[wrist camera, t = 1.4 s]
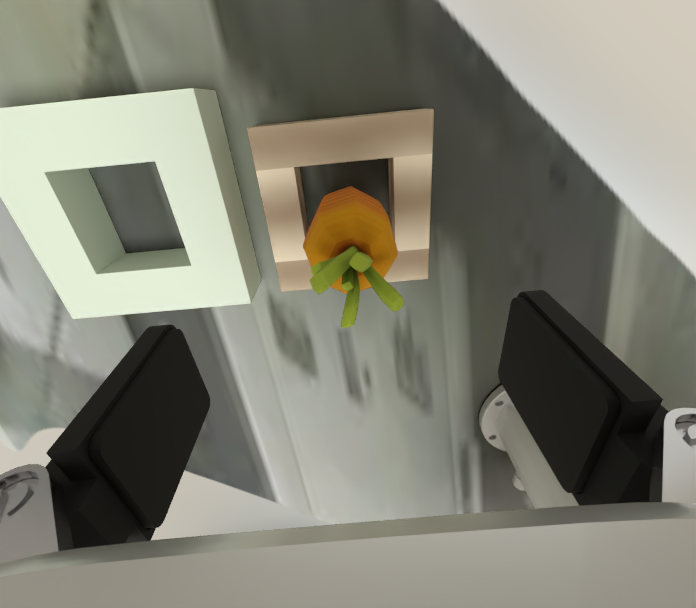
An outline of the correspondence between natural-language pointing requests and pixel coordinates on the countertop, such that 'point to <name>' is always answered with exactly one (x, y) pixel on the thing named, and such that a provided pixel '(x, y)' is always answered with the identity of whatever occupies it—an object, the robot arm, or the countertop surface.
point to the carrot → (352, 249)
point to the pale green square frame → (93, 219)
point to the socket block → (336, 147)
